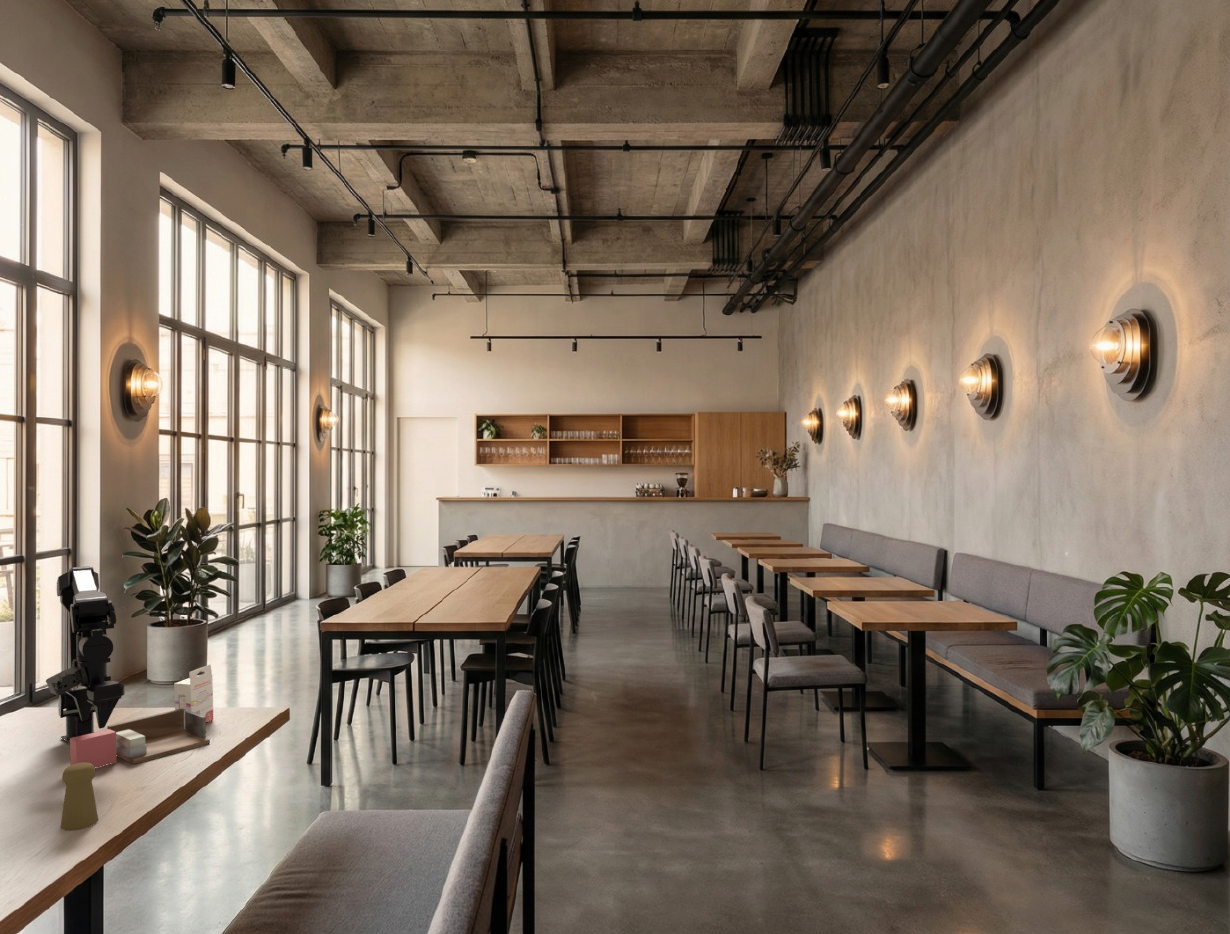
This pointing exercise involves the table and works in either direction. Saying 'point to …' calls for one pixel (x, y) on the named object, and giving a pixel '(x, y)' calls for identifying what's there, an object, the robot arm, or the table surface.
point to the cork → (78, 797)
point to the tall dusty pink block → (94, 748)
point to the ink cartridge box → (196, 693)
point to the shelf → (159, 735)
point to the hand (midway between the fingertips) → (92, 724)
